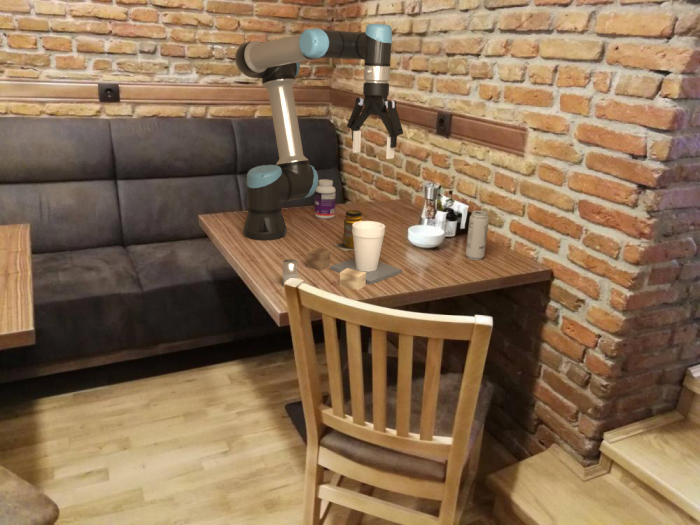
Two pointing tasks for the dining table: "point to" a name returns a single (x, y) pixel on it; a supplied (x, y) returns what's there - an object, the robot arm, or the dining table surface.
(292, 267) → the metal shaker
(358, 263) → the foam cup
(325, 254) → the brown cube
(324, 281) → the dining table surface
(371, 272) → the slate board
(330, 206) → the pill bottle
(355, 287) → the beech block
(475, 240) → the energy drink can
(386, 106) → the robot arm
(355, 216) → the condiment
